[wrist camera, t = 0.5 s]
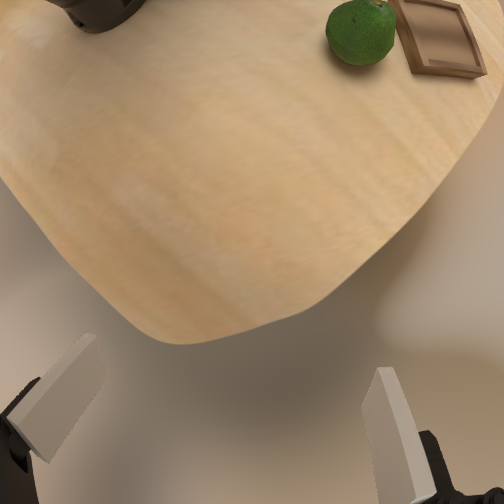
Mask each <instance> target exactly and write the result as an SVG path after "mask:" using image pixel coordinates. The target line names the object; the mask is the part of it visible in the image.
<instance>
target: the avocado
mask: <svg viewBox="0 0 504 504" xmlns="http://www.w3.org/2000/svg"><path fill="white" fill-rule="evenodd" d="M395 27H396V15H395V12H394V9H393V8H392V7H391V6H390V5H389V4H388V3H386V2H385V1H382V0H353V1H349V2H346V3H343V4H342V5H340V6H338V7H337V8H335V9H334V10H333V11H332V12H331V14H330V15H329V18H328V21H327V25H326V36H327V38H328V41H329V44H330V47H331V49H332V50H333V52H334V53H335V54H336V56H337V57H338V58H340V59H341V60H342V61H344V62H345V63H347V64H352V65H356V66H362V65H368V64H373V63H377V62H378V61H380V60H381V59H383V58H384V57H385V56H386V55H387V54H388V52H389V51H390V50H391V48H392V47H393V46H394V36H395Z"/></svg>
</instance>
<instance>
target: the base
mask: <svg viewBox="0 0 504 504" xmlns="http://www.w3.org/2000/svg"><path fill="white" fill-rule="evenodd" d="M387 3H388V4H389V5H390V6H391V7H392V8H393V9H394V12H395V15H396V30H397V32H398V35H399V37H400V40H401V43H402V46H403V48H404V51H405V54H406V57H407V60H408V63H409V67H410V70H411V73H413V74H432V75H444V76H454V77H462V78H469V79H475V78H478V77H481V76H484V75H487V70H486V67H485V64H484V61H483V58H482V55H481V53H480V50H479V47H478V44H477V42H476V39H475V37H474V34H473V32H472V30H471V27H470V25H469V23H468V21H467V18H466V16H465V14H464V12H463V10H462V8H461V6H460V5H459V4H455V3H451V2H447V1H443V0H388V1H387Z"/></svg>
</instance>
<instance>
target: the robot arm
mask: <svg viewBox="0 0 504 504" xmlns="http://www.w3.org/2000/svg"><path fill="white" fill-rule="evenodd" d="M46 1H48V2H50V3H53V4H55V5H57V6H59V7H61V8H63V9H64V10H65V12H66V13H67V15H68V16H69V18H70V19H71V20H72V22H73V23H74V25H75V26H76V27H78V28H79V29H81V30H83V31H85V32H88V33H99V32H103V31H106V30H109V29H111V28H113V27H115V26H117V25H119V24H120V23H122V22H123V21H125V20H126V19H127V18H129V17H130V16H131V15H132V14H133V13H135V12H136V11H137V10H138V9H139V8H140V6H141V5H142V4H143V3H144V2H145V0H46ZM108 378H109V373H108V369H107V367H106V364H105V360H104V357H103V354H102V351H101V347H100V344H99V340H98V336H97V335H93V334H89V333H85V334H84V335H83V336H82V337H81V338H80V339H79V340H78V341H77V342H76V343H75V344H74V345H73V346H72V347H71V348H70V349H69V350H68V351H67V352H66V353H65V354H64V355H63V356H62V357H61V358H60V359H59V360H58V361H57V362H56V363H55V364H54V365H53V366H52V367H51V368H50V369H49V371H48V372H47V373H46V374H45V375H44V376H43V377H42V378H40V377H38V378H36V379H34V380H32V381H30V383H28V385H27V386H26V387H25V388H24V390H22V391H21V392H20V393H19V395H17V396H16V398H15V399H14V400H13V401H12V402H11V403H10V404H9V405H8V406H7V408H6V409H5V410H4V411H3V412H2V413H1V414H0V504H39V502H38V497H37V492H36V487H35V481H34V475H33V468H32V460H31V456H30V453H29V451H30V450H32V451H33V452H34V453H35V454H36V455H37V457H39V458H41V459H42V460H44V461H46V462H47V463H48V464H49V463H50V461H51V460H52V458H53V457H54V455H55V454H56V452H57V451H58V449H59V448H60V446H61V445H62V443H63V442H64V440H65V439H66V437H67V436H68V434H69V433H70V431H71V430H72V428H73V427H74V426H75V424H76V422H77V421H78V420H79V418H80V417H81V415H82V414H83V413H84V411H85V410H86V408H87V407H88V406H89V404H90V403H91V401H92V400H93V399H94V397H95V396H96V394H97V393H98V392H99V390H100V389H101V387H102V386H103V384H104V383H105V382H106V380H107V379H108ZM361 410H362V414H363V419H364V424H365V428H366V433H367V438H368V443H369V448H370V453H371V458H372V464H373V469H374V475H375V481H376V487H377V493H378V500H379V504H504V490H503V489H502V488H499V487H496V488H492V489H491V490H489V491H488V492H487V493H486V494H484V495H472V496H465V495H463V493H461V492H459V491H456V490H455V489H454V487H453V485H452V482H451V479H450V475H449V472H448V470H447V466H446V464H445V461H444V459H443V455H442V452H441V450H440V447H439V444H438V441H437V439H436V437H435V436H434V435H433V434H432V433H431V432H430V431H429V430H426V431H421V432H418V431H417V428H416V425H415V423H414V420H413V417H412V414H411V412H410V409H409V407H408V404H407V401H406V399H405V396H404V394H403V391H402V389H401V386H400V384H399V381H398V379H397V377H396V374H395V372H394V369H393V367H379V368H377V370H376V372H375V375H374V378H373V381H372V383H371V385H370V388H369V390H368V393H367V395H366V398H365V400H364V402H363V404H362V407H361Z"/></svg>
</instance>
